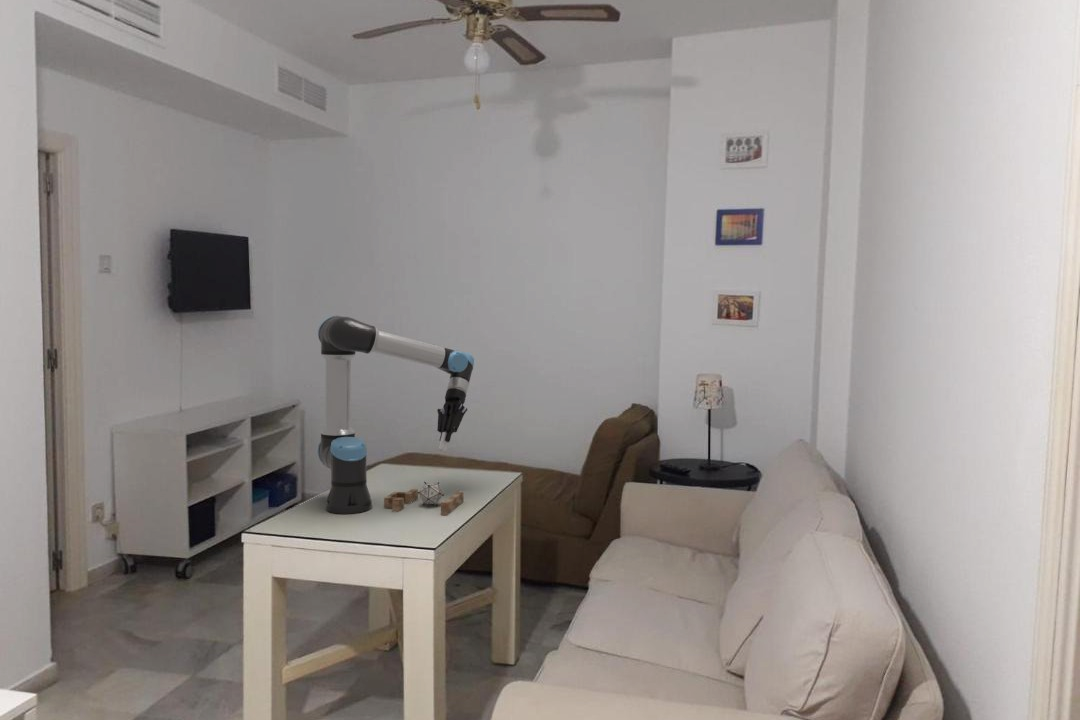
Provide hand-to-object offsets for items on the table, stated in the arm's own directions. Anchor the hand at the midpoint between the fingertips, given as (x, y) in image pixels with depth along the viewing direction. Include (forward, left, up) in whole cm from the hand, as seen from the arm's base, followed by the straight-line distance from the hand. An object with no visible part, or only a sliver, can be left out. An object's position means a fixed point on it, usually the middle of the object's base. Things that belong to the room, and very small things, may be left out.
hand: (442, 450), depth 280 cm
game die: (+3, -12, -17) cm, 21 cm away
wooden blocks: (+1, -15, -17) cm, 22 cm away
